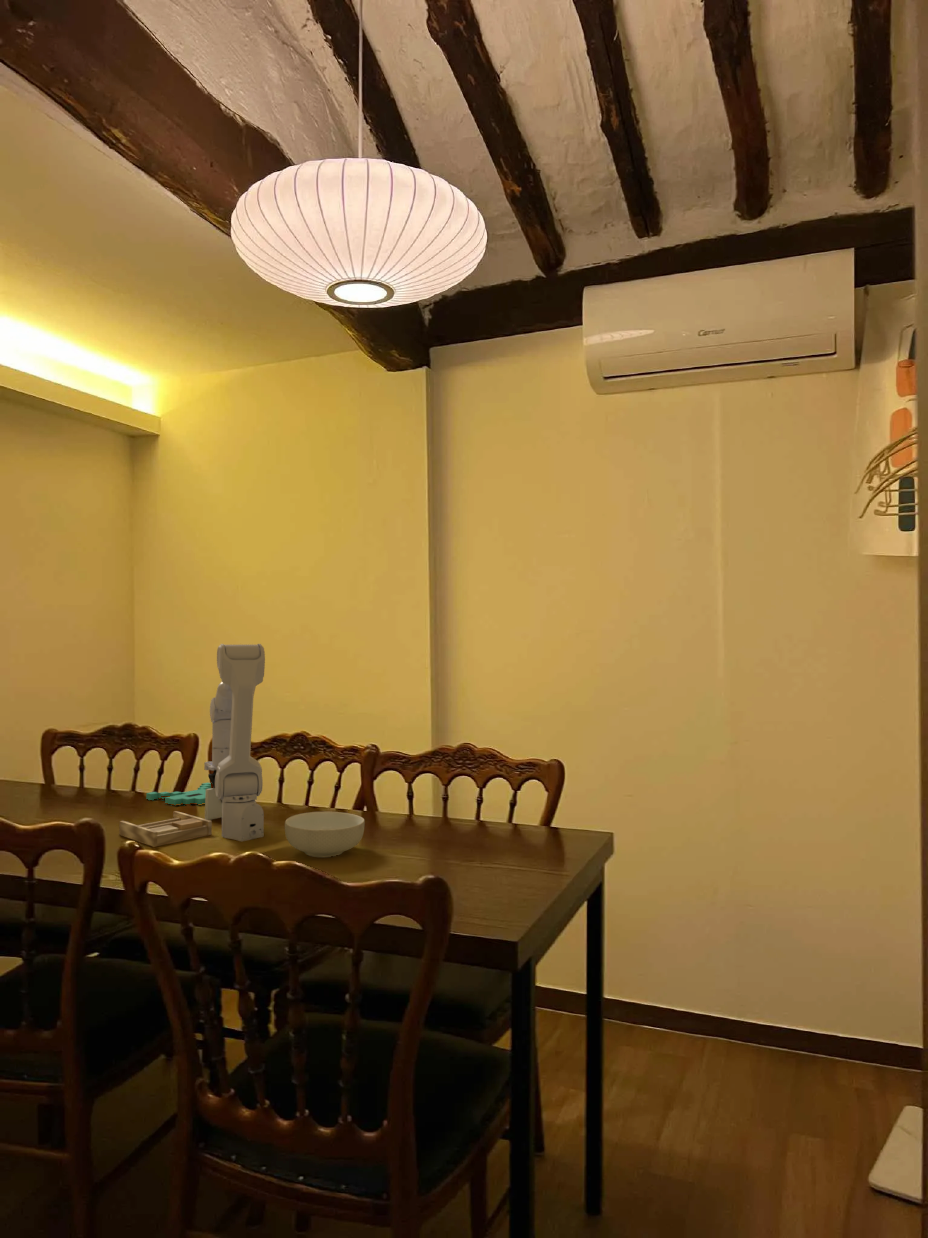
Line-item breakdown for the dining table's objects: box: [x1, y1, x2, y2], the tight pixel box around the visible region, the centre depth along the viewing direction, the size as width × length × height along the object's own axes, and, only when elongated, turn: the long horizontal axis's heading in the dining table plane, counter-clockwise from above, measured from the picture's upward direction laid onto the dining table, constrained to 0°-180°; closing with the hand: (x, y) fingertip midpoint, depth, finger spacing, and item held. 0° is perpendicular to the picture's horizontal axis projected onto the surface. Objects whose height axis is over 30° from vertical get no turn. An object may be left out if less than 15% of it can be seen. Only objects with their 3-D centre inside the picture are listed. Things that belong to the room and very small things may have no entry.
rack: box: [118, 810, 213, 848], centre depth 189 cm, size 15×14×4 cm
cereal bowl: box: [284, 811, 366, 858], centre depth 179 cm, size 17×17×7 cm
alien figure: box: [145, 782, 212, 805], centre depth 233 cm, size 20×2×20 cm
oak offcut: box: [172, 818, 202, 831], centre depth 189 cm, size 4×5×3 cm
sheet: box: [204, 787, 222, 821], centre depth 208 cm, size 1×10×8 cm, turn 139°
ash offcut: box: [150, 825, 178, 835], centre depth 185 cm, size 4×5×2 cm
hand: (223, 802), depth 208 cm, fingers closed on sheet
